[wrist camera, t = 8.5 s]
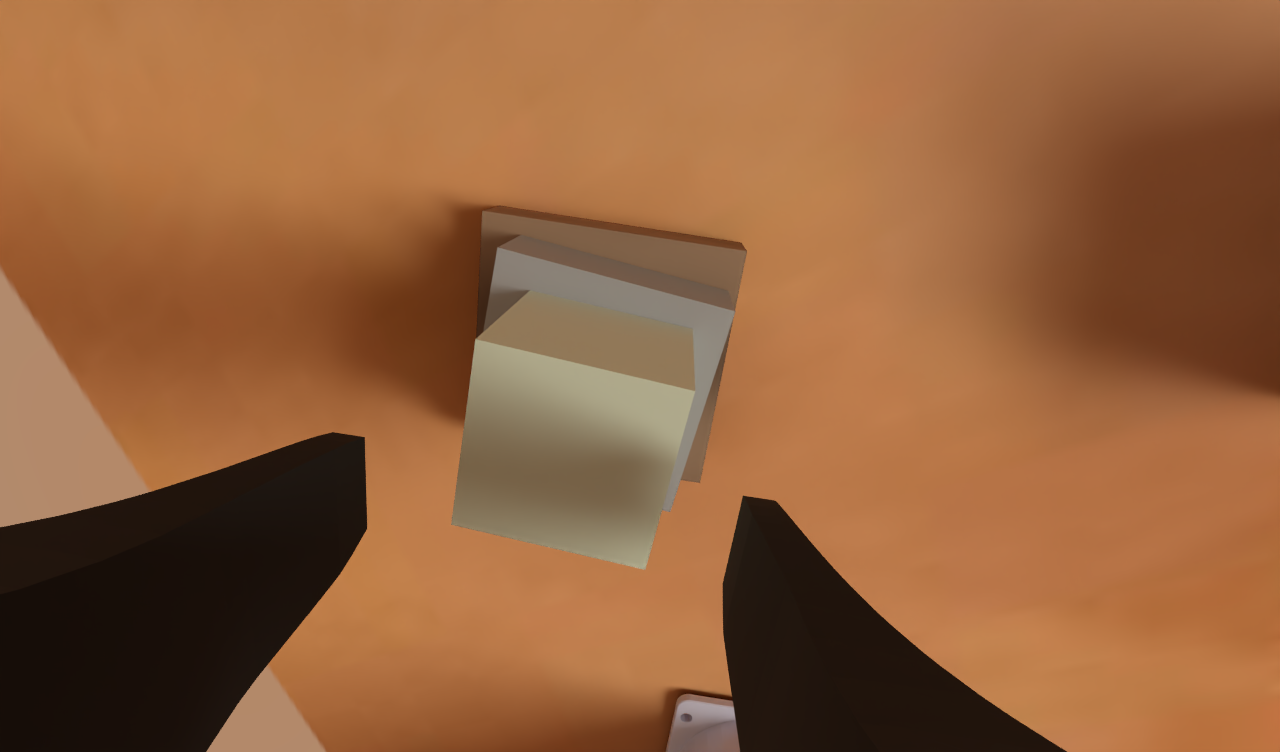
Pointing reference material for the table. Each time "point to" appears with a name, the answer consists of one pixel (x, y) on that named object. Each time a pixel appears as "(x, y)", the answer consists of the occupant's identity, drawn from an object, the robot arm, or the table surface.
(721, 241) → the base block
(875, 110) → the table surface
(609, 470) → the sage cube
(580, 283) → the middle block
